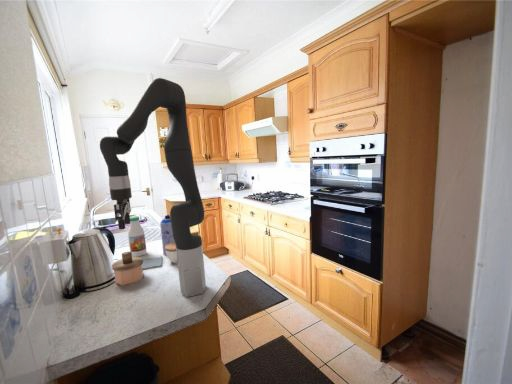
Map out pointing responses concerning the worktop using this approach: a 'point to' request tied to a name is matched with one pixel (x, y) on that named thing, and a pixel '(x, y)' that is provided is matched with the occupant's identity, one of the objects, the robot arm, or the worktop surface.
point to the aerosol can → (166, 232)
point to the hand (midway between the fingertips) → (125, 226)
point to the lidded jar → (171, 252)
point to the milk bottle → (136, 238)
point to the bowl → (129, 275)
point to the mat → (152, 263)
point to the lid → (127, 262)
